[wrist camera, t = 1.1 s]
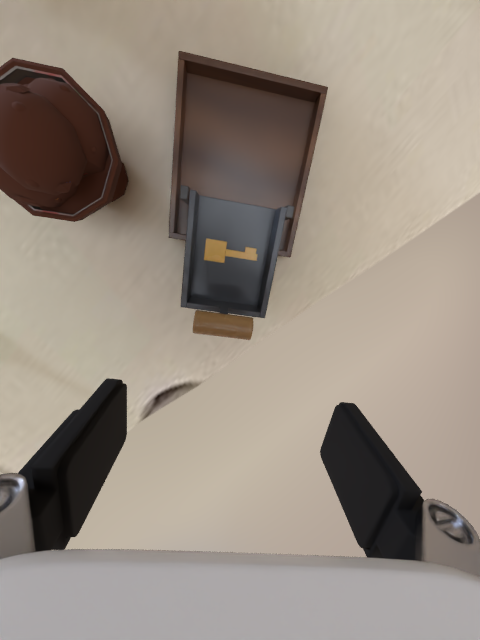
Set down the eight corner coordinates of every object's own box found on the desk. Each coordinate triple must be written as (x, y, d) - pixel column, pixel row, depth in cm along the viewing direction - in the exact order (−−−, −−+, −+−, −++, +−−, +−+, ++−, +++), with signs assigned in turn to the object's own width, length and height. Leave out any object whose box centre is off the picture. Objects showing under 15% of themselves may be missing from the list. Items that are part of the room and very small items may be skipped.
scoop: (194, 195, 24) (177, 174, 16) (280, 210, 25) (306, 198, 17) (184, 305, 27) (167, 333, 20) (259, 315, 28) (272, 346, 20)
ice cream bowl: (132, 110, 26) (20, -41, 12) (161, 218, 30) (101, 202, 16) (38, 127, 26) (-186, -3, 12) (79, 233, 30) (-55, 230, 16)
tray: (183, 67, 25) (168, 11, 19) (319, 100, 26) (347, 58, 20) (172, 237, 30) (159, 237, 24) (285, 255, 32) (299, 260, 26)
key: (204, 259, 25) (203, 259, 25) (206, 238, 25) (206, 238, 24) (254, 267, 26) (255, 267, 25) (258, 246, 25) (259, 247, 25)
